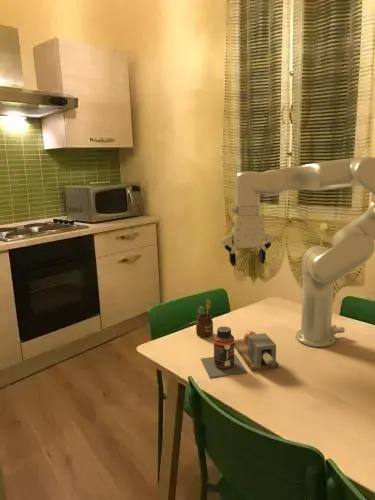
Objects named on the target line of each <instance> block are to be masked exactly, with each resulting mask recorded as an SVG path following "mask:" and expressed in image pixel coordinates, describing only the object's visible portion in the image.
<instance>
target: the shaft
mask: <svg viewBox="0 0 375 500" xmlns="http://www.w3.org/2000/svg"><path fill="white" fill-rule="evenodd" d="M255 334H257V333H256V332H255V331H252V330H251V331H248V332H246V333H245V334H244V336H243V339H244V341H245V343H246V344H247V345H248V335H255ZM261 358H262V359H263V360H264V362H265V363H266V364H267V365H270V364H272V363H273V358H272V357H271V355H270V354H269V353H268V352H267V351H266V350H261Z"/></svg>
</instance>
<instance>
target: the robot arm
mask: <svg viewBox="0 0 375 500" xmlns="http://www.w3.org/2000/svg"><path fill="white" fill-rule="evenodd" d="M357 186H358V187H360V186H361V187H363V188H364V189H366V191H368V192H369V193H370V194H371V196H370V197H371V199H370V204H369V206H368V208H367V210H366V211H365V212H363V213H362V214H361V215H360V216H358V217H357V218H355V220H353V221H352V222H350V223H349V224H347V225H345V226H344V227H343V228H341V229H339V230H338V231H337V232H336V233H334V235H333V237H332V240H331V241H332V242H331V243H332V244H331V245H332V247H331V248H327V247H325V246H323V245H314V246H311V247H309V248H308V249H306V251H305V252H304V254H303V256H302V259H301V260H302V261H301V271H302V294H301V296H302V297H301V324H300V325H301V326H300V330H298V331H296V333H295V338H296V340H297V341H298V342H299V343H301V344H304V345H306V346H309V347H314V348H315V347H317V348H326V346H327V347H329V346H330V345H331V346H332V345H334V344H335V343H336V342H337V341H336V340H337V339H336V336H335V335H336V334H342V333H345V331H346V329H345V327H344V326H337V325H336V324H335V325H333V324H332V320H333V305H334V304H333V300H334V283H336V282H338V281H339V280H341V279H343V278H344V277H346V276H349V274H351V273H352V272H354V271H356V270H357V269H358V268H359V267H361V266H363V265H364V264H366V263H367V261H369V260H370V259H371V258H372V256H373V255H374V252H375V157H373V156H358V157H350V158H344V159H343V158H342V159H334V160H329V161H327V160H326V161H319V162H313V163H309V164H305V165H298V166H290V167H283V168H276V169H275V168H274V169H268V170H265V171H262V172H260V171H259V172H258V171H239V172H238V173H237V174H236V176H235V206H234V208H233V207H232V208H231V213H233V214H235V215H234V216H233V220H232V226H231V233H230V234H229V235H227V236H226V237H223V238H222V239H221V240H220V242H221V244H222V245H223V247H224V249H225V250H226V251H227V252H229V254H228V257H229V258H228V259H229V263H230V264H231V265H232V266H233V267H234V266H236V265H237V261H236V260H237V259H236V258H237V254H236V251H237V249H246V248H247V249H248V248H250V249H251V248H259V250H258V262H259V263H260V264H263V265H264V264H265V261H266V252H267V251H268V249H269V248H270V246H272V243H273V241H274V239H275V238H274V237H273V236H272V235H270V234H268V233H266V232H265V221H264V216H263V215H262V214H261V195H265V196H278V195H280V194H282V193H283V192H288V191H289V192H290V191H299V190H300V191H301V190H304V191H305V190H306V191H326V190H334V189H341V188H349V187H357ZM266 239H267V241H266ZM229 241H231V243H230V244H231V245H230V246H229V243H228V242H229Z"/></svg>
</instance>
